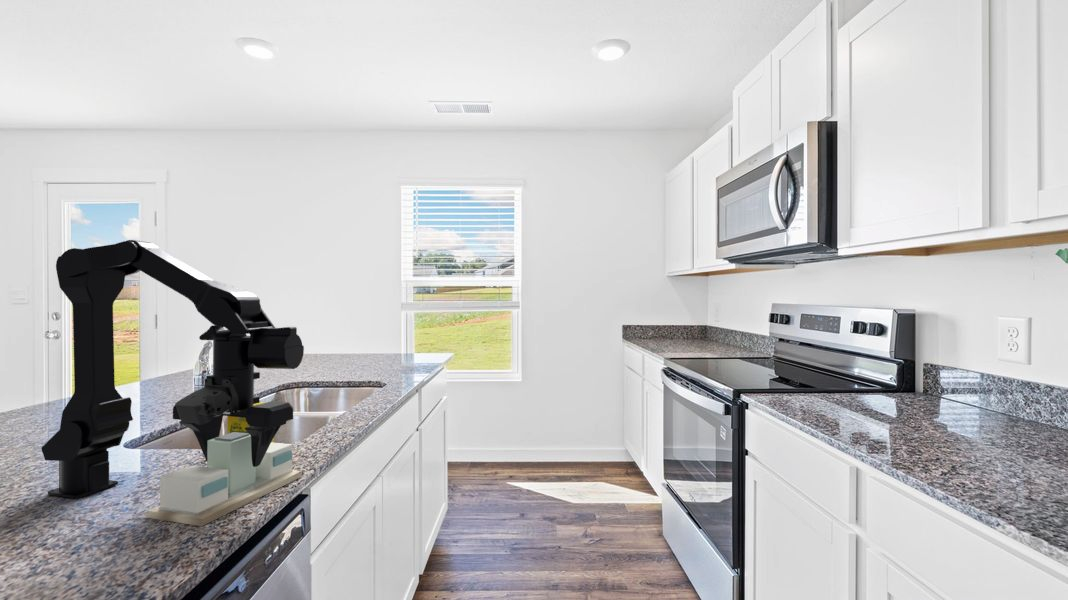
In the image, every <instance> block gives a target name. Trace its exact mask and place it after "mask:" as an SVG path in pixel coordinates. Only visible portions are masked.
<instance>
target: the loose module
mask: <svg viewBox="0 0 1068 600" xmlns="http://www.w3.org/2000/svg"><path fill="white" fill-rule="evenodd" d="M206 464H207V465H206V467H211V468H219V469H227V470H228V494H231V493H233V492H235V491H238V490H240V489H242V488H244V487H246V486H249V485H251V484H253V483H255V482H256V467H253V464H252V454H251V435H250V434H249V433H239V432H232V433H229V434H227V433H226V434H223V435H222V434H221V435H219V437H216V438H214V439H211V440H208V447H207V461H206Z"/></svg>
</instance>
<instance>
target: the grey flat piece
mask: <svg viewBox="0 0 1068 600" xmlns="http://www.w3.org/2000/svg"><path fill="white" fill-rule="evenodd" d="M293 470H294V469H293V468H292V470H290V471H287V472H285V473H283V474H281V475H279V476H277V477H274V478H272V479H264V478H256V482H255V483H253V484H251V485H249V486H246V487H244V488H242V489H240V490H238V491H235V492H233V493H231V494H228V499H227V500H225V501H223V502H220V503H218V504H216V505H214V506H212V507H210V508H207V509H205V510H203V511H201V512H199V513H197V512H190V511H183V510H177V509H170V508H163V507H159V508H158V511H165V512H172V513H178V514H185V515H192V516H198V515H200V514H203V513H205V512H207V511H209V510H211V509H213V508H215V507H218V506H220V505H222V504H224V503H226V502H228V501H230V500H232V499H235V498H237V497H239V496H241V495H243V494H245V493H247V492H250V491H252V490H254V489H256V488H258V487H260V486H262V485H264V484H267V483H269V482H271V481H273V480H275V479H277V478H279V477H282V476H284V475H286V474H288V473H290V472H292V471H293Z"/></svg>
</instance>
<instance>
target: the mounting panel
mask: <svg viewBox="0 0 1068 600" xmlns="http://www.w3.org/2000/svg"><path fill="white" fill-rule="evenodd" d="M302 477H303V470H298V469H293V471H292V472H290V473H288V474H286V475H284V476H282V477H279V478H277V479H275V480H273V481H271V482H269V483H267V484H264V485H262V486H260V487H258V488H256V489H254V490H252V491H250V492H247V493H245V494H243V495H241V496H239V497H237V498H235V499H232V500H230V501H228V502H226V503H224V504H222V505H220V506H218V507H215V508H213V509H211V510H209V511H207V512H205V513H203V514H200V515H198V516H192V515H185V514H178V513H172V512H165V511H158V508H159V507H160V505H157V506H155V507H153V508H150V509H148V510H147V511H146V518H147V519H153V520H159V521H160V520H161V521H168V522H173V523H178V524H186V525H191V526H192V525H193V526H199V527H203V526H205V525H208V524H210V523H211V522H214V521H215V520H218V519H220V518H222V517H223V516H225V515H228V514H230V513H231V512H233V511H235V510H237V509H239V508H242V507H243V506H245V505H246V506H247V504H250V503H252V502H253V501H256V500H258V499H259V498H262V497H264V496H265V495H268V494H270V493H271V492H274V491H275V490H278V489H280V488H281V487H283V486H286V485H288V484H290V483H292V482H294V481H296V480H298V479H300V478H302Z"/></svg>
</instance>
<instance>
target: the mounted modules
mask: <svg viewBox="0 0 1068 600" xmlns="http://www.w3.org/2000/svg"><path fill="white" fill-rule="evenodd" d="M292 469H293V444H291V443H281V442H280V443H279V442H274V443H273V442H271V443H270V445H269V447H268V449H267V451H266V453H265V455H264V457H263V459H262V462H261V464H260V465H259V466H257V467H256V478H264V479H272V478H274V477H277V476H279V475H281V474H283V473H285V472H287V471H290V470H292ZM159 477H160V479H159V482H160V483H159V487H160V488H159V489H160V490H159V498H160V499H159V506H160V507H163V508H170V509H177V510H183V511H190V512H197V513H199V512H201V511H203V510H205V509H207V508H210V507H212V506H214V505H216V504H218V503H220V502H223V501H225V500H227V499H228V470H227V469H219V468H211V467H207V466H202V465H188V466H186V467H184V468H181V469H178V470H175V471H172V472H169V473H166V474H163V475H161V476H159Z"/></svg>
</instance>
